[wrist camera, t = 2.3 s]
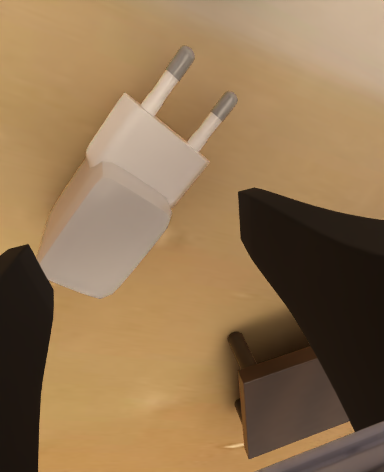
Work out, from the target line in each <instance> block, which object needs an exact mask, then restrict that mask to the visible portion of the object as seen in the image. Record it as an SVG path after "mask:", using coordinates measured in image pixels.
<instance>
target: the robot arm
mask: <svg viewBox="0 0 384 472" xmlns="http://www.w3.org/2000/svg"><path fill="white" fill-rule="evenodd" d="M238 198H239V216H240V234H241V240H242V242H243V244H244V246H245V248H246V250H247V252H248V253H249V255H250V257H251V259H252V260H253V262H254V263H255V265H256V266H257V267H258V269H259V270H260V271H261V273H262V274H263V275H264V277H265V278H266V279H267V281H268V282H269V283H270V285H271V286H272V287H273V289H274V290H275V291H276V293H277V294H278V295H279V297H280V298H281V299H282V301H283V302H284V303H285V305H286V306H287V308H288V309H289V310H290V312H291V313H292V315H293V317H294V318H295V320H296V322H297V323H298V325H299V327H300V328H301V330H302V332H303V334H304V335H305V337H306V339H307V340H308V342H309V344H310V346H311V348H312V349H313V351H314V353H315V355H316V357H317V358H318V360H319V362H320V364H321V366H322V368H323V369H324V371H325V373H326V375H327V377H328V379H329V381H330V383H331V385H332V387H333V388H334V390H335V392H336V394H337V396H338V398H339V400H340V402H341V404H342V406H343V408H344V410H345V412H346V414H347V416H348V419H349V421H350V423H351V425H352V427H353V429H354V431H355V432H354V433H352V434H349V435H347V436H344V437H342V438H339V439H337V440H334V441H331V442H329V443H326V444H324V445H321V446H319V447H316V448H314V449H311V450H309V451H306V452H303V453H301V454H298V455H296V456H293V457H291V458H288V459H286V460H283V461H280V462H278V463H275V464H273V465H270V466H268V467H265V468H263V469H260V470H258V471H255V472H384V220H378V219H371V218H365V217H360V216H355V215H349V214H344V213H340V212H335V211H331V210H328V209H324V208H320V207H316V206H313V205H310V204H306V203H303V202H300V201H297V200H293V199H290V198H287V197H284V196H281V195H278V194H275V193H272V192H269V191H266V190H262V189H258V188H251V189H247V190H243V191H239V192H238ZM53 310H54V290H53V288H52V286H51V284H50V283H49V281H48V279H47V277H46V275H45V273H44V272H43V270H42V268H41V266H40V264H39V262H38V261H37V259H36V257H35V255H34V253H33V251H32V250H31V248H30V246H29V244H27V245H23V246H19V247H15V248H11V249H8V250H7V251H6V252H4V253H3V254H2V255H0V472H38V447H39V419H40V402H41V390H42V381H43V375H44V369H45V363H46V358H47V352H48V346H49V340H50V334H51V328H52V322H53Z"/></svg>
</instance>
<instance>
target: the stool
mask: <svg viewBox="0 0 384 472" xmlns="http://www.w3.org/2000/svg"><path fill="white" fill-rule="evenodd" d="M228 342H229V344H230V346H231V348H232V351H233V353H234V355H235V357H236V360H237V362H238V364H239V367H240V370H238V378H239V390H240V399H239V400H237V401H236V402H235V407H236V410H237V412H238V415H239V417H240V420H241V423H242V425H243V437H244V448H245V451H246V453H247V456H248V459H251V458H254V457H257V456H259V455H262V454H264V453H267V452H270V451H272V450H275V449H278V448H280V447H283V446H285V445H288V444H291V443H293V442H296V441H299V440H301V439H304V438H306V437H309V436H312V435H314V434H317V433H320V432H322V431H325V430H327V429H330V428H333V427H335V426H338V425H341V424H343V423H346V422H348V421H349V419H348V416H347V414H346V412H345V410H344V408H343V406H342V404H341V402H340V400H339V398H338V396H337V394H336V392H335V390H334V388H333V387H332V385H331V383H330V381H329V379H328V377H327V375H326V373H325V371H324V369H323V368H322V366H321V364H320V362H319V360H318V358H317V357H316V355H315V353H314V351H313V349H312V348H311V346H309V347H306V348H303V349H300V350H297V351H294V352H291V353H288V354H285V355H282V356H279V357H276V358H273V359H270V360H267V361H264V362H261V363H258V364H257V363H256V361H255V359H254V357H253V355H252V353H251V351H250V349H249V347H248V345H247V343H246V341H245V339H244V337H243V335H242V333H240V332H234V333H232V334H230V335H229V337H228Z"/></svg>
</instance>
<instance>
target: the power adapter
mask: <svg viewBox="0 0 384 472" xmlns="http://www.w3.org/2000/svg"><path fill="white" fill-rule="evenodd" d="M194 59H195V54H194V52H193V50H192V49H191V48H190V47H188V46H182V47H180V49H179V50H178V52H177V53H176V54H175V56H174V57H173V59H172V60H171V62H170V63H169V65H168V66H167V67H166V69H165V72H164V73H163V75H162V76H161V78H160V79H159V81H158V82H157V83H156V85H155V86H154V88H153V89H152V91H151V92H149V93H148V95H147V96H146V98H145V99H144V101H143V102H142V104H140V103H138V102H137V101H136V100H135V99H134V98H132V97H131V96H129V95H128V94H126V93H125V92H124V94H123V95H122V96H121V98H120V99H119V100H118V102H117V103H116V105H115V106H114V108H113V109H112V111H111V112H110V114H109V115H108V117H107V118H106V120H105V121H104V123H103V124H102V126H101V127H100V129H99V130H98V132H97V133H96V135H95V136H94V138H93V139H92V141H91V142H90V144H89V146H88V148H87V149H86V158H85V159H84V161H83V162H82V163H81V165H80V166H79V168H78V169H77V171H76V172H75V174H74V175H73V177H72V178H71V180H70V181H69V183H68V184H67V186H66V187H65V189H64V190H63V192H62V193H61V195H60V196H59V198H58V199H57V201H56V203H55V204H54V206H53V208H52V209H51V211H50V213H49V216H48V219H47V222H46V226H45V229H44V232H43V236H42V240H41V243H40V247H39V250H38V254H37V261H38V262H39V264H40V266H41V268H42V270H43V272H44V273H45V275H46V277H47V279H48V280H50V281H52V282H54V283H57V284H59V285H61V286H64V287H67V288H69V289H72V290H75V291H77V292H80V293H83V294H85V295H88V296H91V297H95V298H99V299H101V298H104V297H107V296H109V295H111V294H113V293H114V292H115V291H116V290H117V289H118V288H119V287H120V285H121V284H122V283H123V282H124V281H125V280H126V279H127V277H128V276H129V275H130V274H131V273H132V271H133V270H134V269H135V268H136V267H137V265H138V264H139V263H140V262H141V260H142V259H143V258H144V257H145V256H146V254H147V253H148V252H149V251H150V249H151V248H152V247H153V246H154V244H155V243H156V242H157V241H158V239H159V238H160V237H161V235H162V234H163V233H164V231H165V230H166V229H167V227H168V224H169V221H170V218H171V215H172V211H171V208H173V207H174V206H175V205H176V204H177V202H178V201H179V200H180V199H181V197H182V196H183V195H184V194H185V192H186V191H187V190H188V189H189V188H190V186H191V185H192V184H193V183H194V181H195V180H196V179H197V178H198V176H199V175H200V174H201V173H202V171H203V170H204V169H205V168H206V167H207V165H208V164H209V163H210V161H209V160H208V159H207V158H205V157H204V156H203V155H202V154H201V153H200V152H199V151H200V150H201V149H202V147H203V146H204V145H205V143H206V142H207V140H208V138H209V137H210V136H211V135H212V133H213V132H214V131H215V130H216V128H217V127H218V126H219V124H220V123H221V122H223V121H224V119H225V118H226V117H227V115H228V114H229V113H230V112H231V110H232V109H233V108H234V107H235V105H236V104H237V101H238V98H237V96H236V94H235V93H234V92H231V91H227V92H225V93H224V94H223V96H222V97H221V98H220V100H219V101H218V102H217V103H216V105H215V106H214V107H213V109H212V110H211V111H210V114H209V115H208V116H207V118H206V119H205V120H204V122H203V123H202V124H201V126H200V127H199V128H198V129H197V131H195V132H194V133H193V135H192V136H191V137H190V139H189V140H188V141H185V140H184V139H183V138H182V137H181V136H179V135H178V134H177V133H176V132H174V131H173V130H172V129H171V128H169V127H168V126H167V125H166V124H165V123H163V122H162V121H161V120H160V119H158V118H157V117H156V116H155V115H156V113H157V112H158V111H159V109H160V108H161V106H162V105H163V102H164V101H165V99H166V98H167V96H168V95H169V94H170V92H171V91H172V89H173V88H174V87H175V85H176V84H177V82H178V81H180V80H181V78H182V77H183V75H184V74H185V73H186V71H187V70H188V68H189V67H190V66H191V64H192V63H193V61H194Z"/></svg>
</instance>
